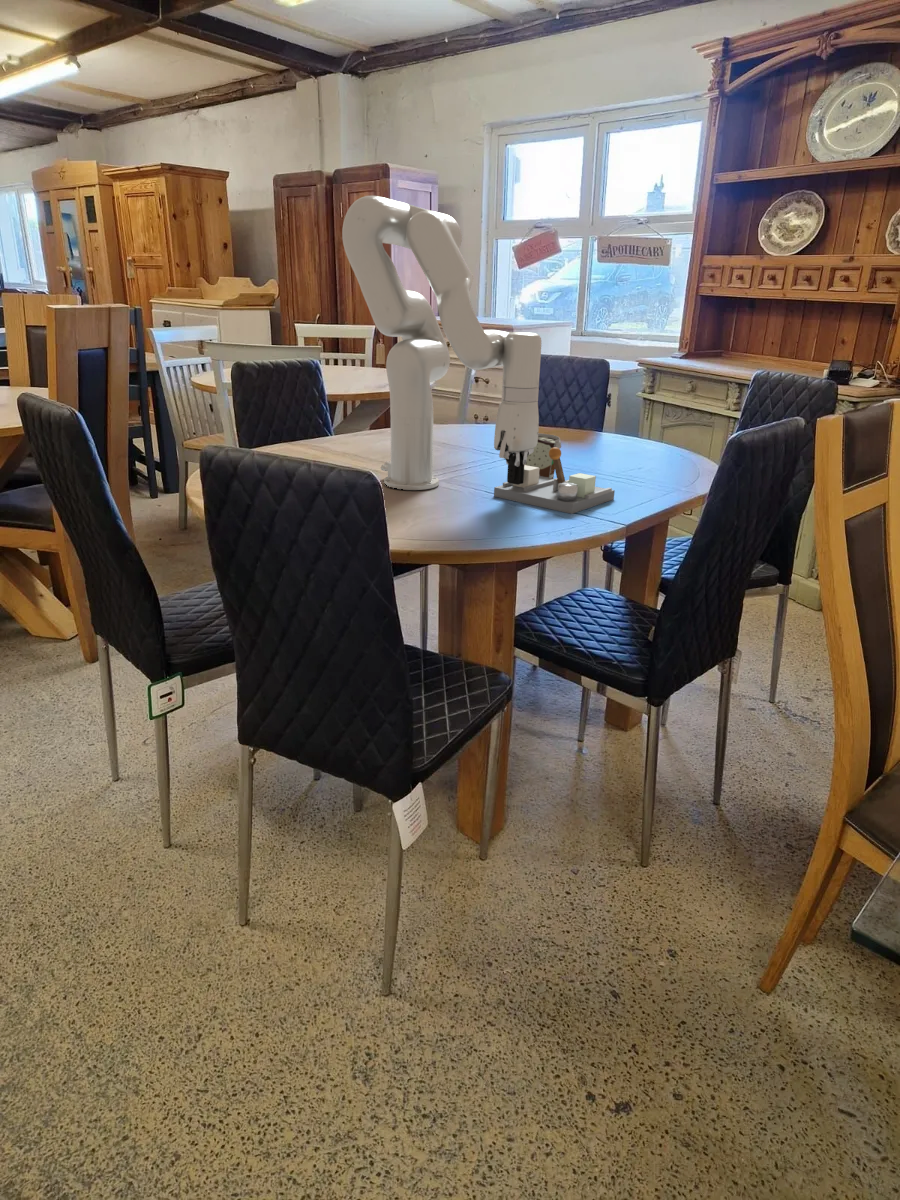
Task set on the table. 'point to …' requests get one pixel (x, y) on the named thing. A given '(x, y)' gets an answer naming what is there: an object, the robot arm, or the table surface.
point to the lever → (557, 463)
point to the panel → (552, 495)
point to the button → (567, 492)
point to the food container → (544, 454)
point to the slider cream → (529, 476)
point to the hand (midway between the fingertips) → (515, 482)
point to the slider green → (583, 483)
